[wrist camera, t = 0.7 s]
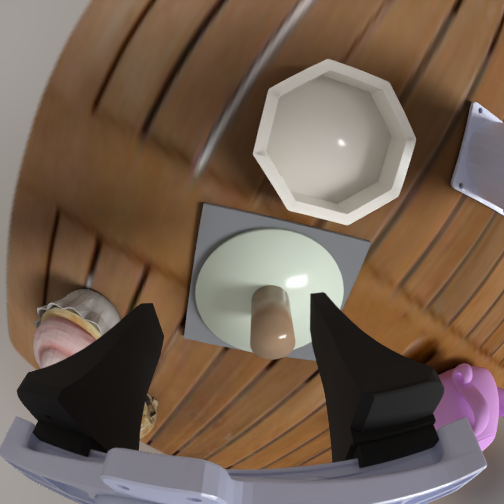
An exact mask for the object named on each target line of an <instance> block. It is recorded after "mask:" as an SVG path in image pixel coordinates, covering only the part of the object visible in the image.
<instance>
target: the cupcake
mask: <svg viewBox="0 0 504 504" xmlns="http://www.w3.org/2000/svg"><path fill="white" fill-rule="evenodd" d="M37 313H38V316H39V319H38V320H37V321H35V323H34V324H35V326H36V328H37V329H36V331H35V333H34V338H33V349H34V354H35V358H36V361H37V362H38V364H39V366H40V368H41V369H42V368H45V367H47V366H50V365H53V364H55V363H57V362H60V361H62V360H64V359H66V358H68V357H70V356H71V355H73V354H75V353H77V352H79V351H81V350H82V349H84V348H85V347H87V346H88V345H90V344H91V343H93V342H94V341H96V340H97V339H98V338H100V337H101V336H102V335H103V334H105V333H106V332H107V331H109V330H110V329H111V328H112V327H114V326H115V325H116V324H117V323H118V322H119V321H121V319H120V316H119V314H118V312H117V310H116V308H115V307H114V305H113V304H112V303H111V302H110V301H109V300H108V299H107V298H106V297H104V296H103V295H101V294H100V293H98V292H96V291H93V290H90V289H79V290H75V291H73V292H71V293H70V294H68V295H67V296H65V297H64V298H62V299H60V300H58V301H55V302H52V303H49V304H48V305H46V306H43V307H40V308H37Z"/></svg>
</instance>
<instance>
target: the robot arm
mask: <svg viewBox="0 0 504 504" xmlns="http://www.w3.org/2000/svg"><path fill="white" fill-rule="evenodd" d="M479 109H480V112H479ZM460 183H461V186H460V187H459V184H460ZM451 186H452V188H453V189H456V190H458V191H460V192H462V193H464V194H465V195H467V196H469V197H471V198H473V199H475V200H477V201H479V202H481V203H483V204H484V205H486V206H488V207H490V208H492V209H493V210H495V211H497V212H499V213H500V214H502V215H504V123H503V122H502V121H501V120H499V119H498V118H497V117H496V116H494V115H493V114H492V113H491V112H489V111H488V110H487V109H485V108H484V107H483V106H481V105H480V104H478V103H477V102H472V103H471V105H470V110H469V115H468V120H467V125H466V129H465V133H464V137H463V141H462V145H461V149H460V153H459V156H458V160H457V163H456V167H455V170H454V173H453V177H452V180H451ZM310 333H311V340H312V347H313V351H314V355H315V358H316V362H317V365H318V369H319V373H320V376H321V380H322V384H323V387H324V392H325V398H326V405H327V412H328V420H329V428H330V438H331V448H332V462H333V463H328V464H320V465H313V466H304V467H293V468H280V469H256V470H230V469H224V468H222V467H221V466H220V465H218V464H216V463H213V462H210V461H207V460H203V459H197V458H191V457H181V456H171V455H163V454H156V453H149V452H142V451H139V441H140V430H141V423H142V416H143V411H144V405H145V400H146V396H147V393H148V389H149V386H150V383H151V381H152V378H153V375H154V372H155V369H156V366H157V363H158V360H159V357H160V354H161V350H162V345H163V339H164V335H163V332H162V329H161V326H160V323H159V321H158V318H157V315H156V312H155V309H154V306H153V303H145V304H140V305H139V306H137V307H136V308H135V309H134V310H132V311H131V312H130V313H129V314H128V315H126V316H125V317H124V318H123V319H122V320H121V321H119V322H118V323H117V324H116V325H115V326H114V327H112V328H111V329H110V330H109V331H107V332H106V333H105V334H103V335H102V336H101V337H100V338H98V339H97V340H96V341H94V342H93V343H91V344H90V345H88V346H87V347H85V348H84V349H82V350H81V351H79V352H77V353H75V354H73V355H71V356H70V357H68V358H66V359H64V360H62V361H60V362H57V363H55V364H53V365H50V366H47V367H45V368H42V369H39V370H35V371H32V372H29V373H28V374H27V375H26V377H25V378H24V380H23V381H22V383H21V385H20V386H19V388H18V389H17V394H18V397H19V399H20V400H21V401H22V403H23V404H24V406H25V407H26V408H27V409H28V410H29V411H30V413H31V414H32V415H33V416H34V417H35V418H36V419H37V420H38V422H37V424H36V426H35V425H34V424H33V423H31V422H29V421H27V420H24V419H22V418H19V417H16V418H15V419H14V421H13V423H12V425H11V427H10V429H9V431H8V433H7V435H6V437H5V439H4V441H3V443H2V445H1V447H0V456H1V457H2V458H3V459H5V460H6V461H7V462H8V463H9V464H11V465H12V466H13V467H14V468H16V469H17V470H18V471H20V472H21V473H22V474H24V475H25V476H26V477H28V478H29V479H31V480H32V481H34V482H36V483H38V484H40V485H42V486H44V487H46V488H48V489H50V490H52V491H54V492H56V493H58V494H60V495H62V496H64V497H66V498H68V499H70V500H73V501H75V502H77V503H79V504H427V503H429V502H431V501H434V500H436V499H439V498H441V497H443V496H446V495H448V494H450V493H452V492H454V491H456V490H458V489H459V488H461V487H462V486H463V485H465V484H466V483H467V482H469V481H470V480H471V479H473V478H474V477H475V476H476V475H478V474H479V473H480V472H481V471H482V470H484V469H485V468H486V467H487V463H486V460H485V458H484V456H483V453H482V451H481V448H480V446H479V443H478V441H477V439H476V437H475V434H474V432H473V430H472V428H471V425H470V423H469V421H468V419H467V417H464V418H462V419H459V420H457V421H454V422H452V423H449V424H446V425H444V426H442V427H440V428H439V429H437V430H435V427H434V425H433V424H435V422H436V419H435V417H434V414H433V412H434V411H435V409H436V408H437V406H438V404H439V403H440V401H441V399H442V397H443V394H444V386H443V384H442V382H441V380H440V378H439V376H438V374H437V373H436V371H435V370H434V368H433V367H431V366H428V365H425V364H422V363H419V362H416V361H414V360H411V359H409V358H407V357H404V356H402V355H400V354H398V353H396V352H394V351H392V350H390V349H389V348H387V347H385V346H383V345H382V344H380V343H379V342H377V341H376V340H374V339H373V338H371V337H370V336H369V335H367V334H366V333H364V332H363V331H362V330H361V329H360V328H359V327H357V326H356V325H355V324H354V323H353V322H352V321H351V320H350V319H349V318H348V317H347V316H346V315H345V314H344V313H343V312H342V311H341V310H340V309H339V308H338V307H337V306H336V305H335V304H334V303H333V301H332V300H331V299H330V298H329V297H328V296H327V294H326V293H324V292H320V293H310Z"/></svg>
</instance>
